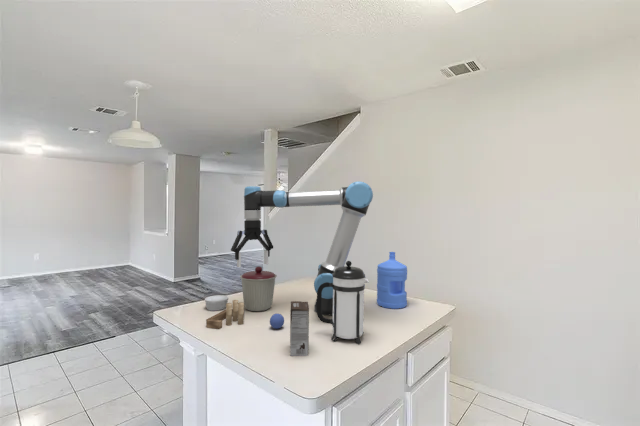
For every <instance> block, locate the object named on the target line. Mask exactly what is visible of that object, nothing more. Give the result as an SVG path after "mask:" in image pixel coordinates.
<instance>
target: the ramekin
mask: <svg viewBox="0 0 640 426" xmlns="http://www.w3.org/2000/svg"><path fill="white" fill-rule="evenodd" d="M228 301H229V296H228V295H222V294H215V295H211V296H207V297H205V298H204V302H205V308H206V310H208V311H212V312H217V311H218V312H219V311H224V310H226V304H227V303H229V302H228Z"/></svg>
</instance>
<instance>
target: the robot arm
mask: <svg viewBox="0 0 640 426" xmlns="http://www.w3.org/2000/svg"><path fill="white" fill-rule="evenodd" d="M243 192H244V193H243V200H244V202H243V203H244V204H243V206H244V207H243V208H244V211H243V212H244V213H243V214H244V217H243V219H245V220H244V223H243V226H244V230H238V231H237V233H236V234H237V235H236V237H235V239H234V241H233V244H232V246H231V248H230V251H231V252H233V253H234V260H235V261H236V267H237V268H241V267H242V253H241V252H240V251H241V250H242V249H243V247H244V246H245V245H246V244H247V242H248V241H253V240H254V241H255V240H256V241H258V242H259V243H260V244H261V245H262V247H263V248H264V250H263V261H264V262H263V264H265V265H269V257H270V253H271V250H272V249H274V245H273V243H272V241H271V239H270V237H269V235H268V230H267V229H262V221H261V218H262V208H265V207H266V208H267V207H268V208H280V209H281V208H289V207H292V208H293V207H296V208H297V207H316V206H319V207H320V206H323V207H324V206H340V208H341V210H342V213H341V216H340V218H339V222H338V225H337V227H336V231H335V234H334V237H333V239H332V241H331V245H330V247H329V248H330V249H329V250H328V254H327V256H326V260H325V261H324V262H322V263H321V264H320V263H319V265H318V268H317V275H316V278H315V279H314V281H313V282H314V283H313V286H314V287H313V288H314V291H315V293H316V294H317V291H318V288H319V286H320V285H321V284H323V283H326V282H329V283H333V276H332V273H333V272H334V270H335V269H336V268H338V267H344V266H346V262H347V261H348V260H347V259H348V256H349V253H350V251H351V247H352V245H353V242H354V240H355V237H356V234H357V231H358V228H359V225H360V223H361V219H362V218H363V217H365V216H366V215H367V212H368V210H369V207H370V204H371V202H372V201H373V197H374V191H373V190H372V188H371V186H370V185H369V184H368V183H366V182H364V181H353V182H352V183H350V184H349V185H348V186H344V187H343V186H342V187H340V189H327V190H325V189H323V190H303V191H302V190H301V191H285V190H279V189H278V190H277V189H276V190H262V189H261V187H260V186H256V185H255V186H254V185H251V186H245V187H244V190H243ZM243 235H244V237H243ZM261 235H263V238H264V239H263V238H262V236H261ZM242 237H243V239H242ZM314 312H315V313H316V314H317V298H316V300H315V302H314ZM321 313H322V315H323V316H324V315H325V316H333V288H332V287H325V288H323V290H322V297H321Z"/></svg>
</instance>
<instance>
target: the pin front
mask: <svg viewBox="0 0 640 426" xmlns="http://www.w3.org/2000/svg"><path fill="white" fill-rule="evenodd" d="M244 310H245V305H244V301H240V302H239V301H238V321H237V324H238V325H239V326H241V325H244V322H245V321H244V319H245V315H244V314H245V311H244Z"/></svg>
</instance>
